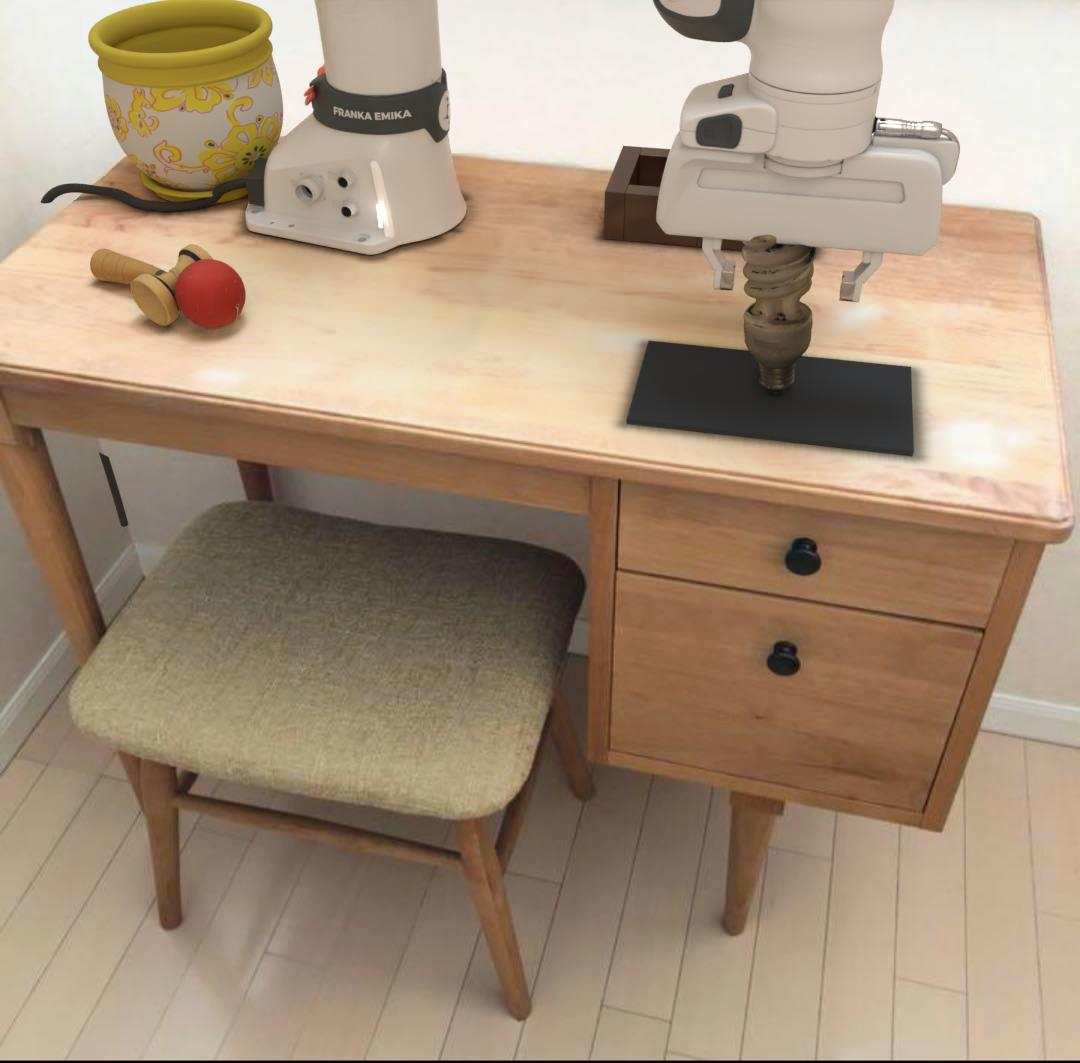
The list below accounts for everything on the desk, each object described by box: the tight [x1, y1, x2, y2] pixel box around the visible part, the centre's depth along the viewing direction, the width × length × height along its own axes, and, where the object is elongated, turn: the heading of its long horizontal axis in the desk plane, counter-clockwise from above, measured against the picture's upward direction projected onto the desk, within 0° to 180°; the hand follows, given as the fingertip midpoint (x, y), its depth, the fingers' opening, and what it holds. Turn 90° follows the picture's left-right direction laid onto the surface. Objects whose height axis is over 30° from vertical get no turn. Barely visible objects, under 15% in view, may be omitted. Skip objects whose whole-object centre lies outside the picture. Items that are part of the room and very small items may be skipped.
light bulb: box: [740, 235, 817, 395], centre depth 94 cm, size 6×6×15 cm
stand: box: [603, 145, 745, 251], centre depth 121 cm, size 20×11×5 cm, turn 78°
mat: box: [626, 340, 915, 456], centre depth 99 cm, size 22×12×1 cm, turn 78°
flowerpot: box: [87, 0, 284, 205], centre depth 127 cm, size 18×18×16 cm
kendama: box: [89, 243, 247, 329], centre depth 110 cm, size 8×6×18 cm
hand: (785, 292), depth 93 cm, fingers open, 8 cm apart
